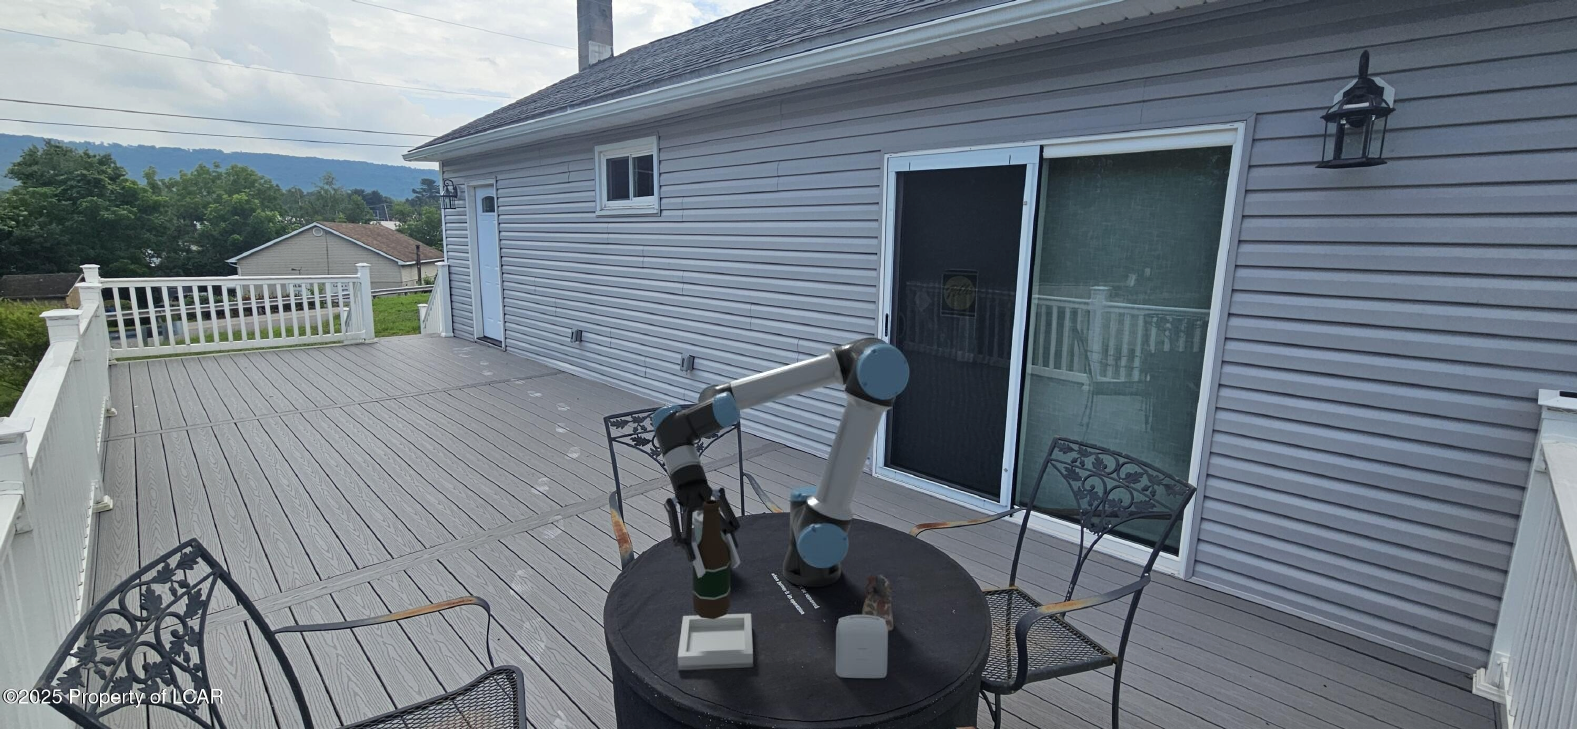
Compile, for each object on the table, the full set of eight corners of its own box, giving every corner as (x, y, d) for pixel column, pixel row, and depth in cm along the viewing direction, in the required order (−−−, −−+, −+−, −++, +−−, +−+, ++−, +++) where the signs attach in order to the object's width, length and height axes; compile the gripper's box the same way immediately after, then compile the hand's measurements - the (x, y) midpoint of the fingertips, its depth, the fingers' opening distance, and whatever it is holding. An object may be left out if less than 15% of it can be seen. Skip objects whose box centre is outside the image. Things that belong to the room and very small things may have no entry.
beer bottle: (715, 624, 135) (714, 512, 131) (685, 612, 139) (683, 503, 135) (738, 607, 142) (737, 499, 137) (709, 596, 146) (708, 492, 142)
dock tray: (750, 625, 150) (750, 613, 149) (752, 667, 135) (752, 653, 135) (683, 628, 149) (683, 616, 148) (678, 670, 134) (677, 656, 133)
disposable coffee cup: (740, 563, 180) (740, 510, 177) (715, 579, 171) (714, 524, 168) (709, 553, 185) (708, 501, 183) (683, 568, 176) (682, 514, 174)
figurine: (892, 635, 147) (894, 584, 145) (860, 631, 148) (861, 581, 146) (893, 618, 154) (895, 569, 151) (863, 614, 155) (864, 566, 153)
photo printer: (835, 679, 132) (836, 621, 129) (834, 666, 136) (836, 610, 134) (888, 681, 131) (890, 623, 129) (885, 667, 135) (887, 611, 133)
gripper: (721, 471, 154) (755, 565, 144) (637, 487, 144) (668, 589, 133) (732, 455, 149) (768, 551, 138) (646, 470, 138) (678, 575, 128)
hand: (719, 570), depth 136 cm, fingers closed on beer bottle, 7 cm apart
